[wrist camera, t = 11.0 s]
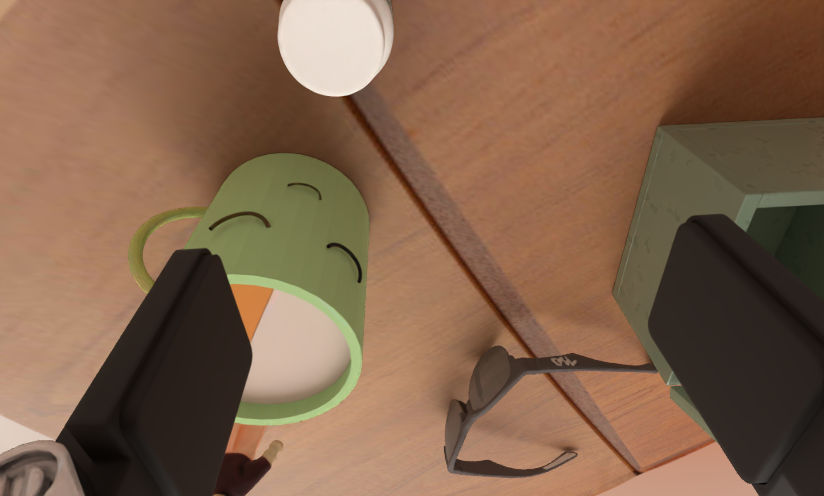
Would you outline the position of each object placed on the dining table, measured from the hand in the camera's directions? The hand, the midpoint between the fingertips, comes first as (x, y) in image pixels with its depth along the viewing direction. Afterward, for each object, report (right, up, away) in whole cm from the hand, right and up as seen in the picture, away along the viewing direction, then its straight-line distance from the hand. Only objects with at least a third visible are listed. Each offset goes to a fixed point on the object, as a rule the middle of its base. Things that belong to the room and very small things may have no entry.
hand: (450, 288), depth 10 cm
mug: (-10, +3, +22) cm, 24 cm away
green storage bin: (+20, +3, +23) cm, 31 cm away
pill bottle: (-4, +13, +15) cm, 20 cm away
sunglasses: (+11, -13, +34) cm, 38 cm away
